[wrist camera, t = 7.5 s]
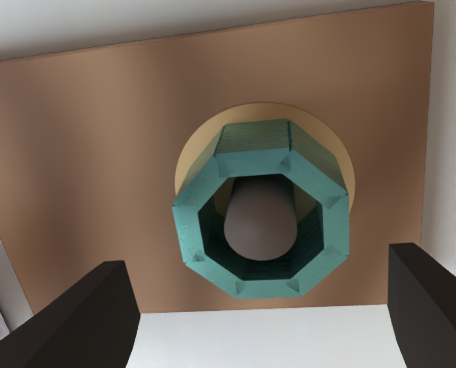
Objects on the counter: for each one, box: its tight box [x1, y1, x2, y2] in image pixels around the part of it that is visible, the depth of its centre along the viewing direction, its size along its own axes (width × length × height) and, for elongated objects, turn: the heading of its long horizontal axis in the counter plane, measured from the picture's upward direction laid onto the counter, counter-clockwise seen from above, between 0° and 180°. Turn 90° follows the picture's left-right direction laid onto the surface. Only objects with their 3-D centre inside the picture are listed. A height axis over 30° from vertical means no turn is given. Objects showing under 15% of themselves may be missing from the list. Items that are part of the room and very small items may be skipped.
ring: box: [172, 118, 349, 299], centre depth 15 cm, size 6×6×3 cm
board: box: [0, 1, 434, 315], centre depth 16 cm, size 18×12×4 cm, turn 98°
